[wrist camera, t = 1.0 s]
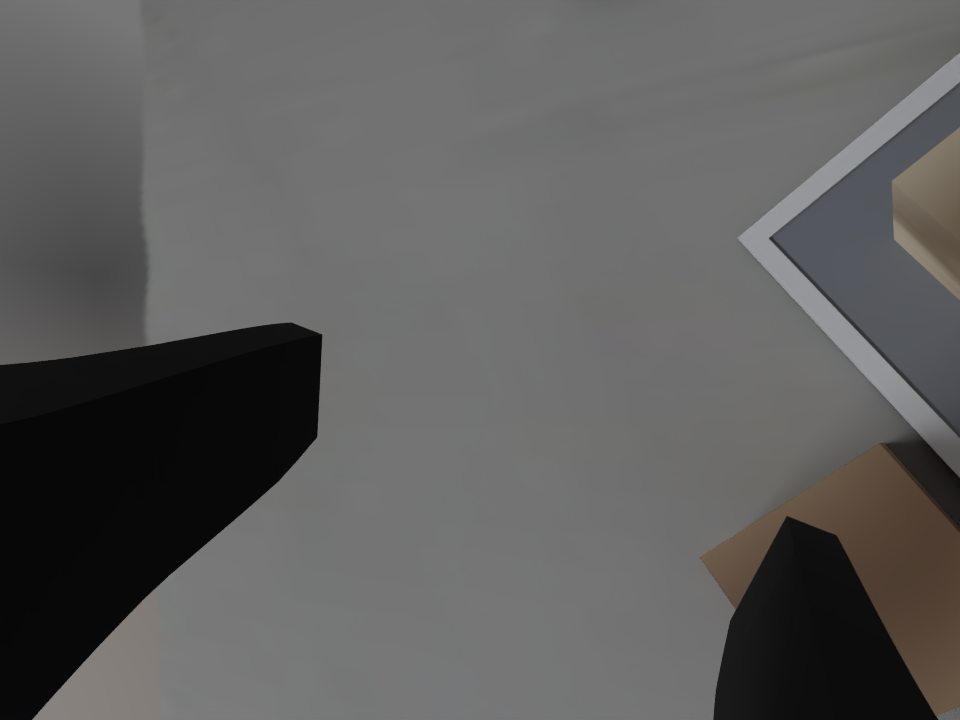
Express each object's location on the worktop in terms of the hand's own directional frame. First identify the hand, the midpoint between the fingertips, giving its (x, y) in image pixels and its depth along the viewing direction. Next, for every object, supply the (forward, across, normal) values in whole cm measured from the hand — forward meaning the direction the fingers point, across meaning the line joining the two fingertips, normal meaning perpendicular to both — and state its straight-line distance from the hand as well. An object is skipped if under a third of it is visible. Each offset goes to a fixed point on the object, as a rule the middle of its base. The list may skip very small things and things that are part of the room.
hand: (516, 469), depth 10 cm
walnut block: (+8, -8, +5) cm, 13 cm away
